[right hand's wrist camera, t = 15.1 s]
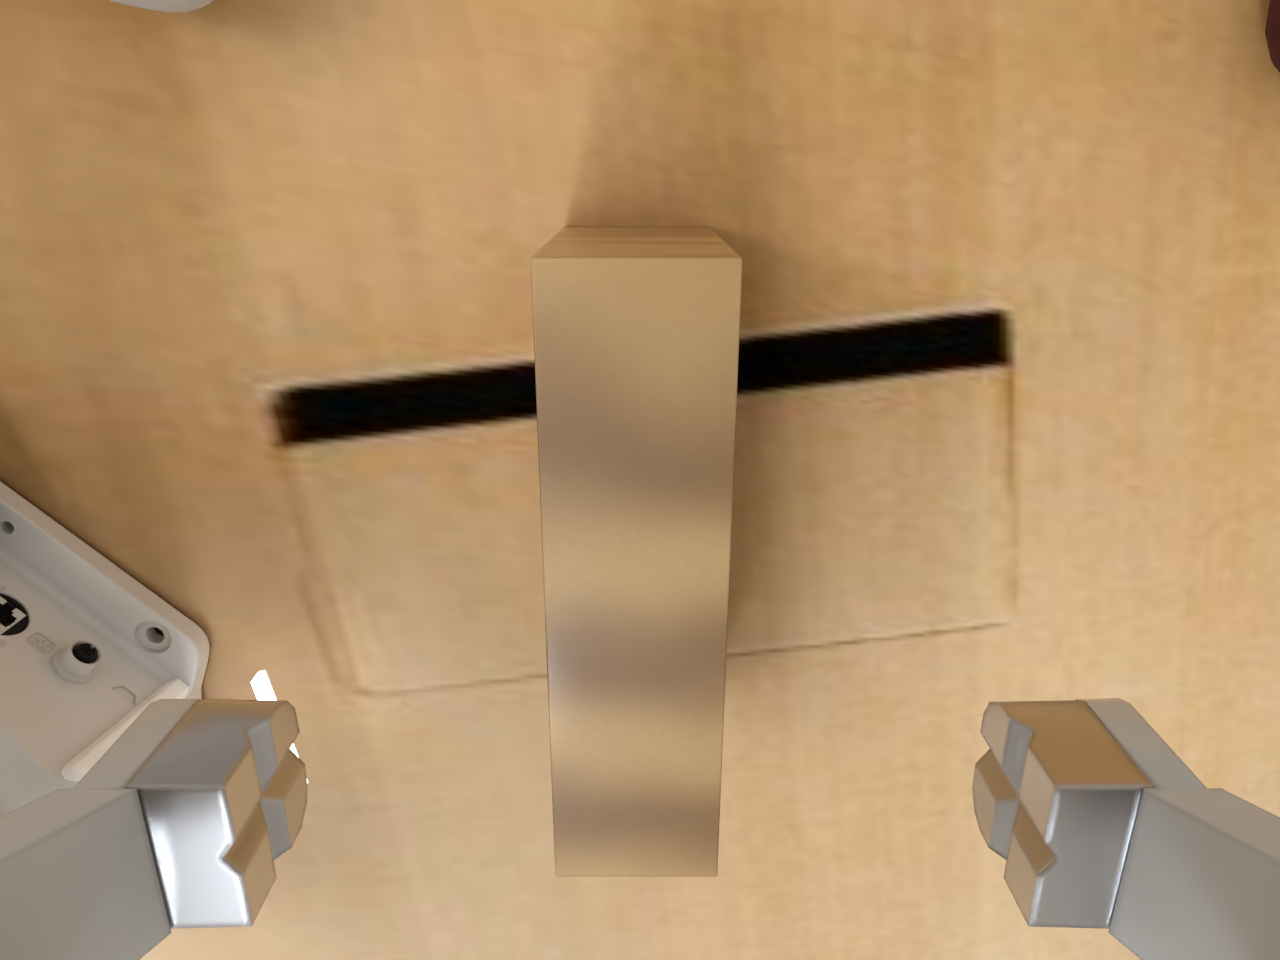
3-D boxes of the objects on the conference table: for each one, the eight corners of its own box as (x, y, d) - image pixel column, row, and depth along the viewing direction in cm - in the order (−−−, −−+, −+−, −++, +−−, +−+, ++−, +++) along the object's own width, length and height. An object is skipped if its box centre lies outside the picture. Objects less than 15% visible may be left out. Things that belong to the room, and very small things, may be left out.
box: (563, 226, 36) (530, 257, 25) (711, 226, 36) (742, 257, 25) (576, 696, 44) (555, 877, 33) (697, 696, 44) (717, 877, 33)
